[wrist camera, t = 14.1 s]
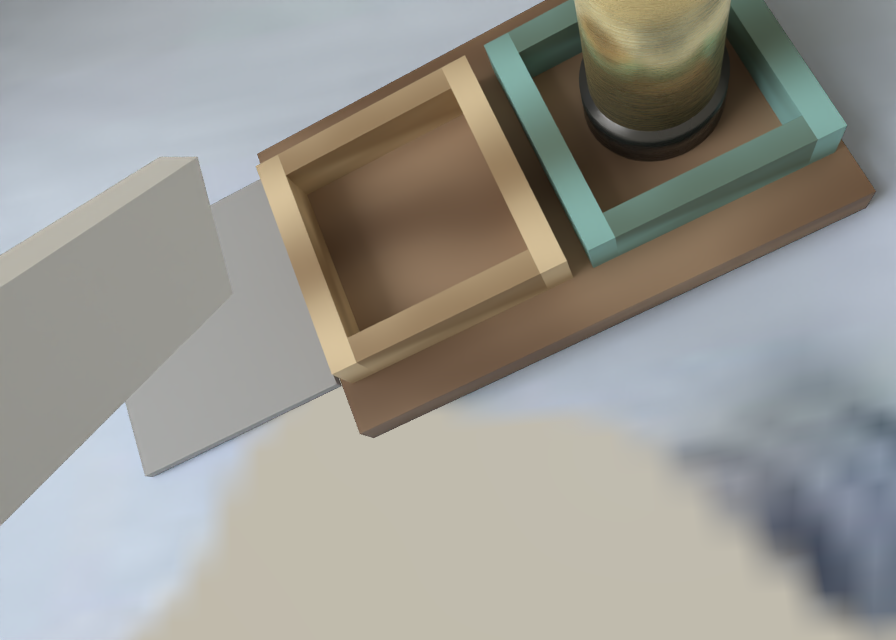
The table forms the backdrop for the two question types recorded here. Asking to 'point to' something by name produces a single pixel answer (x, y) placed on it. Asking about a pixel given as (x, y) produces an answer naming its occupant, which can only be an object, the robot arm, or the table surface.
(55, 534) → the table surface
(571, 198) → the brown wooden flat tray
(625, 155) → the gold metal cylinder
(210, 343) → the mat
